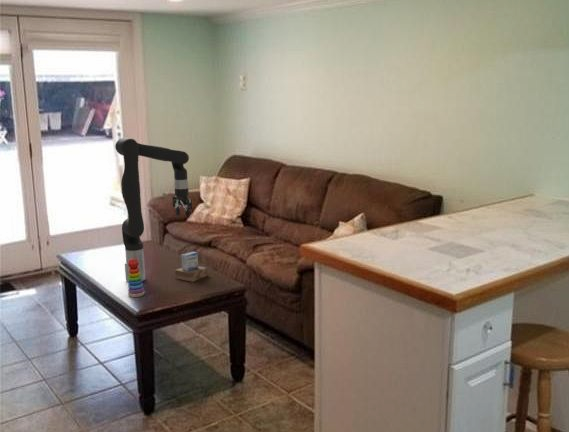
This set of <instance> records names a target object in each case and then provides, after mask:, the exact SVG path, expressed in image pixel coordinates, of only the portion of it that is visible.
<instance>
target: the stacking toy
mask: <svg viewBox="0 0 569 432" xmlns="http://www.w3.org/2000/svg"><path fill="white" fill-rule="evenodd" d="M138 265H139V262H138V260H137V259H134V258H133V259H130V260H129V261H128V266H129V267H130V269H129V272H130V273H129V278H128V279H129V281H128V288H127V289H128V290H127V292H128V293H127V295H128V297H131V298H139V297H142V296H144V295H145V288H144V286H143V285H144V284H143V281H142V280H141V276H140V272H139V268H138Z"/></svg>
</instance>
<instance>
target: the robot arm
mask: <svg viewBox="0 0 569 432" xmlns="http://www.w3.org/2000/svg"><path fill="white" fill-rule="evenodd" d="M115 150H116V153H117V154H119V155H121V156H123V162H124V167H123V173H122V177H121V183H120V184H121V195H122V199H123V202H124V204H125V208H126V210H127V217H128V218H126V219H125V220H124V221H123V222H122V225H121V234H122V242H123V245H124V251H125V263H124V272H125V281H126V282H129V279H128V278H129V273H130V272H129V269H130V267H129V266H128V261H129V260H130V259H133V258H134V259H137V260H138V262H139V265H138V268H139V272H140V276H141V280H142V282H143V281H145V280H146V271H145V270H146V269H145V256H144V244H143V241H142V240H141V236H143V233H144V231H145V223H144V219H143V213H142V201H141V200H142V199H141V185H140V184H141V183H140V171H139V170H140V169H139V157H145V158H148V159H153V160H156V161H162V162H171V165H172V169H173V173H174V176H173V178H174V185H173V186H174V196H172V207H173V208H174V209H175V215H176V216H180V215H181V209H180V208H181V207H182V208H184V209H185V218H190V215H191V212H190V211H192V210H193V201H192V198H188V196H189V193H190V191H189V180H188V170H187V168H185V166H184V165H185V164H187V163H188V162H189V159H190V156H189V154H188V153H187V152H186V151H183V150H175V149H171V148H167V147H164V146H163V147H162V146H157V145H150V144H149V145H148V144H143V143H139V142H137V140H135V139H134V138H130V137H122V138H119V139H118V140H117V141H116V143H115Z"/></svg>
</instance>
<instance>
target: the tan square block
mask: <svg viewBox="0 0 569 432" xmlns="http://www.w3.org/2000/svg"><path fill="white" fill-rule="evenodd" d="M174 275H175V279H178V280H182V281H187V282H190V283H191V282H192V283H193V282H195V281H197V280H198V281H199V280H201V279H203V278H205V277H207V276H208V267H205V266H201V265H198V268H196V269H193V270H190V271H185V270H182V267H180V268H177V269H175V270H174Z"/></svg>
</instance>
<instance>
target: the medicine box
mask: <svg viewBox="0 0 569 432" xmlns="http://www.w3.org/2000/svg"><path fill="white" fill-rule="evenodd" d="M180 256H181V268H182V270H185V271H190V270H193V269H196V268H198V266H199V262H198V261H199V260H198V258H199V257H198V252H196V251H190V252H186V253H182V254H180Z"/></svg>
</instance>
